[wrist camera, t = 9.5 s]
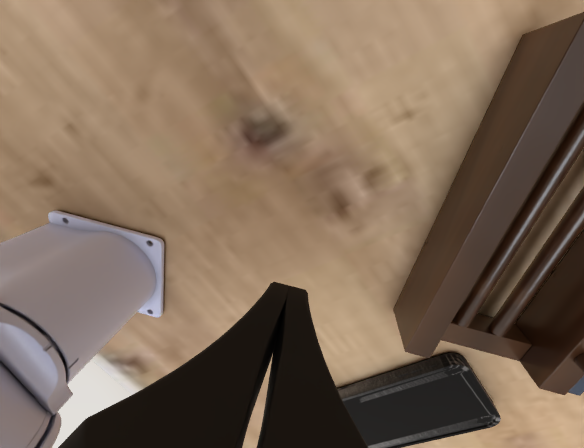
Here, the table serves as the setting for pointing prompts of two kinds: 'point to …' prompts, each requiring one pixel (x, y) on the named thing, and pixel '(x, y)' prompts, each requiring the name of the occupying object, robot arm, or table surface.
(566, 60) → the rack
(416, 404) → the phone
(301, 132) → the table surface
